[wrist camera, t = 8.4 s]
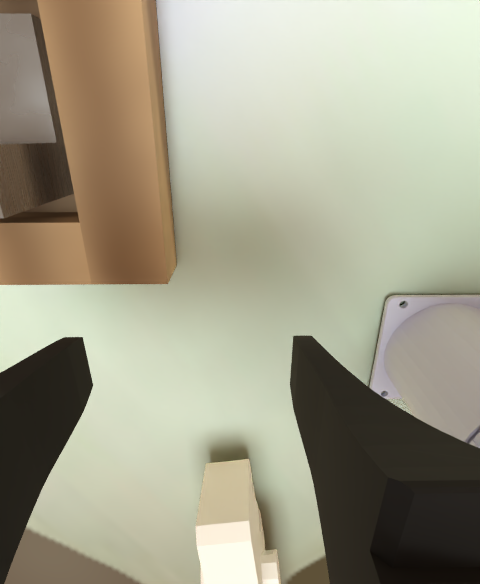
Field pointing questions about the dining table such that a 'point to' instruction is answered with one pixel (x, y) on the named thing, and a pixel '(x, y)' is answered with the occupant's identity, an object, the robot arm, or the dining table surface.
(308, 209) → the dining table surface
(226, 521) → the shelf bracket
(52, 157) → the steel bracket
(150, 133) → the oak well block
